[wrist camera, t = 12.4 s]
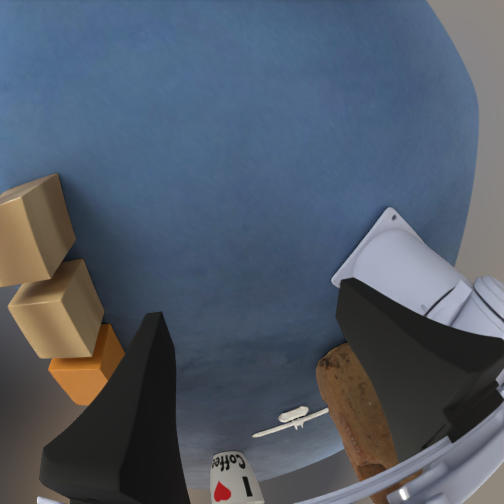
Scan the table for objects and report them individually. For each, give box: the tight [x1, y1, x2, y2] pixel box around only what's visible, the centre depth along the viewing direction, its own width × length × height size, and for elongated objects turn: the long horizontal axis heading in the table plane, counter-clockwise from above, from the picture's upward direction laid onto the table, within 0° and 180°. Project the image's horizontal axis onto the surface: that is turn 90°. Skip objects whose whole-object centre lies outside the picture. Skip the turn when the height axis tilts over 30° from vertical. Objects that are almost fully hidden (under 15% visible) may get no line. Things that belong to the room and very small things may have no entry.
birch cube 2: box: [8, 259, 105, 358], centre depth 17 cm, size 5×5×5 cm
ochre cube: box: [48, 324, 125, 405], centre depth 20 cm, size 5×5×5 cm
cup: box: [210, 451, 264, 504], centre depth 35 cm, size 8×8×10 cm
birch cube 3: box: [0, 173, 76, 287], centre depth 14 cm, size 5×5×5 cm
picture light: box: [252, 406, 329, 437], centre depth 34 cm, size 14×4×2 cm, turn 109°
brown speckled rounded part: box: [316, 343, 423, 504], centre depth 21 cm, size 11×8×20 cm
